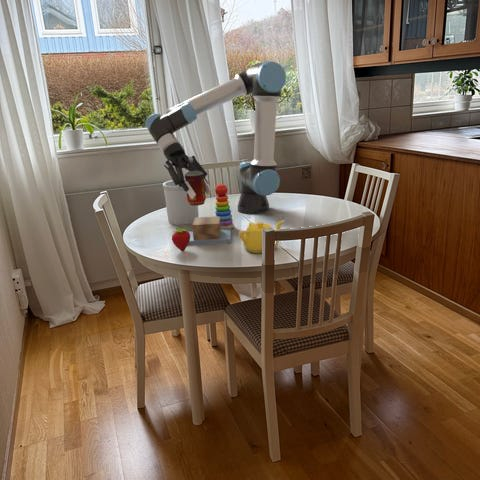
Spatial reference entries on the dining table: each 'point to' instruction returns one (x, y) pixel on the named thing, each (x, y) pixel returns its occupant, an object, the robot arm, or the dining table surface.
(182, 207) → the utensil holder
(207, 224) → the block
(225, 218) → the stacking toy
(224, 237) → the base board
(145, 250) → the dining table surface
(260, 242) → the teapot
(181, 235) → the strawberry
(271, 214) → the dining table surface
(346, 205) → the dining table surface
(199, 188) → the jam jar
